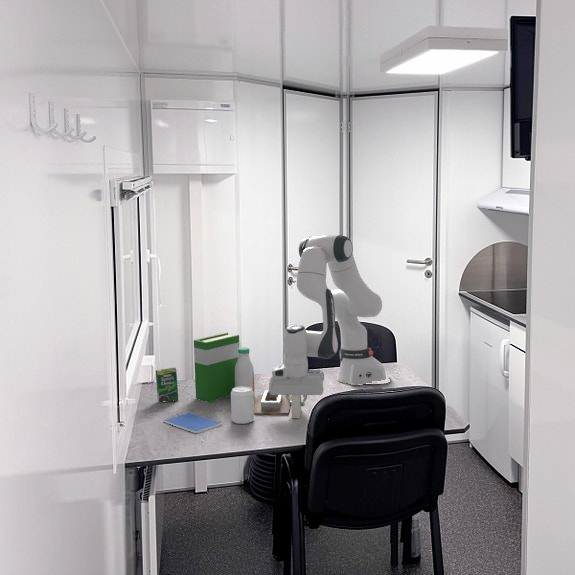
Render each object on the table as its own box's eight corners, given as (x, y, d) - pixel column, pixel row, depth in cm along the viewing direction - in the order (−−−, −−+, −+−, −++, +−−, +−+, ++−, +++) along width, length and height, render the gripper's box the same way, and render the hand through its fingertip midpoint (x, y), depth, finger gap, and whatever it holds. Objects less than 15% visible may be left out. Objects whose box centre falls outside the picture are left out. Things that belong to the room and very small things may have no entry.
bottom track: (282, 397, 295) (282, 390, 294) (279, 409, 280) (279, 402, 280) (265, 397, 295) (264, 390, 295) (261, 409, 281) (260, 402, 280)
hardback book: (228, 388, 311) (226, 332, 308) (240, 392, 306) (239, 334, 303) (195, 398, 299) (193, 340, 295) (208, 402, 294) (205, 342, 290)
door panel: (301, 409, 282) (301, 389, 281) (300, 418, 272) (299, 397, 271) (293, 409, 282) (292, 389, 281) (291, 418, 273) (291, 397, 271)
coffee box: (158, 403, 293) (156, 371, 291) (156, 401, 296) (155, 369, 294) (178, 401, 296) (177, 368, 294) (177, 399, 299) (175, 367, 297)
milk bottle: (251, 400, 295) (250, 351, 292) (233, 399, 297) (231, 350, 294) (256, 394, 303) (255, 346, 300) (238, 393, 304) (236, 345, 301)
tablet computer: (161, 423, 272) (161, 419, 271) (189, 414, 281) (189, 411, 280) (195, 435, 258) (195, 432, 258) (223, 426, 267) (223, 422, 267)
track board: (292, 397, 298) (292, 395, 298) (288, 415, 277) (288, 413, 276) (257, 397, 299) (257, 395, 299) (250, 414, 278) (250, 412, 278)
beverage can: (228, 419, 273) (227, 387, 271) (249, 416, 276) (248, 384, 274) (236, 426, 266) (235, 393, 264) (257, 422, 269) (256, 390, 267)
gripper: (324, 367, 277) (324, 403, 279) (269, 367, 279) (270, 403, 281) (323, 372, 271) (324, 408, 273) (267, 371, 272) (268, 408, 275)
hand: (296, 405), depth 277 cm, fingers closed on door panel, 3 cm apart
